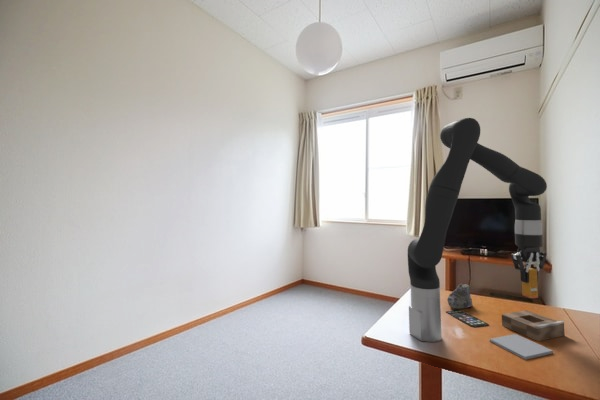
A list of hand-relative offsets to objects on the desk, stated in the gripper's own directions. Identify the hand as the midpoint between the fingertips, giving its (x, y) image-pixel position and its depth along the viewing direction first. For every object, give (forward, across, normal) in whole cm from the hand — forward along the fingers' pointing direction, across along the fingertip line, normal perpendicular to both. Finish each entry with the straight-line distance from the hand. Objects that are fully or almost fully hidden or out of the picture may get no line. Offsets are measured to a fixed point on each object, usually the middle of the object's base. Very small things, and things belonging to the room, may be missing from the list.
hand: (529, 281), depth 97 cm
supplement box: (+5, 0, 0) cm, 5 cm away
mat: (+17, -15, -7) cm, 24 cm away
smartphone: (+18, -13, +15) cm, 26 cm away
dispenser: (+17, 0, 0) cm, 17 cm away
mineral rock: (+17, -6, +25) cm, 31 cm away
